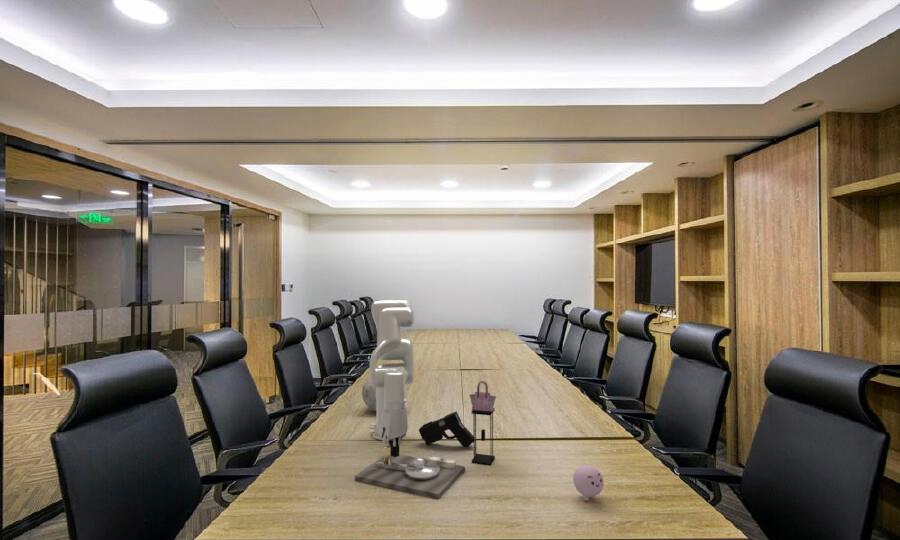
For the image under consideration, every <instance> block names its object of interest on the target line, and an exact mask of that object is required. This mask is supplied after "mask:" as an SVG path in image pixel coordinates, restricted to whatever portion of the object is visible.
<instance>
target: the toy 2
mask: <svg viewBox="0 0 900 540" xmlns="http://www.w3.org/2000/svg"><path fill="white" fill-rule="evenodd" d="M572 481H573V486H574V487H575V489H576V491H577V492H578V493H579V494H580V495H582V496H583V501H585V502H588V501H589V499H592V500H594V499H596V496H598V495H600V493H601V492H602V491H603V487H604V478H603V475H602V473H601V472H600V471H599V469H598V468H596V467H595V466H593V465H589V464H583V465H580V466H578V467H577V468H576V469H575V471H574V473H573V476H572Z"/></svg>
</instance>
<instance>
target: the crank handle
mask: <svg viewBox="0 0 900 540" xmlns="http://www.w3.org/2000/svg"><path fill="white" fill-rule="evenodd" d="M383 456H384V463H382V462H378V466H383V467H386V468H388V469H395V470H403V471H405V474H406V476H407V477H409V478H411V479H414V480H428V479H432V478H435V477H437V476H438V475H439V473H440V466H439V465H438V464H437V463H435V462H432V461H424V459H425V457H424V456H421V455H420V456H413V457H414V458H413V462H412V463H410V464H408V465H406V464H398V463H391V446H390V445H385V446H384V447H383Z"/></svg>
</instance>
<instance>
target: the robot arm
mask: <svg viewBox="0 0 900 540" xmlns="http://www.w3.org/2000/svg"><path fill="white" fill-rule="evenodd" d="M370 307H371V309H370V310H371V311H370V312H371V317H372V319H373V322H374V324H375V327H376V344H377V345H376V347H375V348H374V350H373V351H372V353H371V355H370V356H371V357H370V359H369V377H370V382H371V385H372V386H373V387H376V411H375V412H376V416H375V417H376V420H375V421H376V423H374V422H371V423H370V425H369V429H370V430H374V432H372V437H373V439H375V440H379V441H382V443H383V444H385V445H387V444H388V446H391V456H393V457H397V456H399V454H400V445H401V443H402V439H403V438H405V437H406V436H407V433H408V427H409V426H408V413H407V407H406V402H407V401H406V399H405V398H406V393H405V392H406V388H405V387H406V385H409V384H410V385H411V384H412V383H413V382H414V377H415V363H414V346H413V343H412V342H413V341H412V340H411V339H409V338H404V337H403V338H402V333H401V328H410V327H413V325H414V323H415V314H414V310H413V306H412V305H411V302H410V301H409V300H408V299H380V300H376V301H374V302H372V304H371V306H370ZM378 359H379V360H381V361H402V362H393V363H392V362H390V363H382V364H377V363H378Z"/></svg>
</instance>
